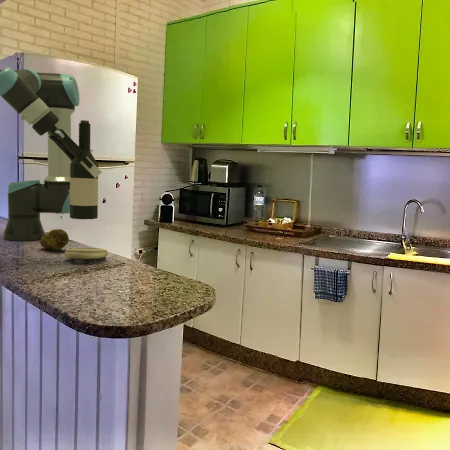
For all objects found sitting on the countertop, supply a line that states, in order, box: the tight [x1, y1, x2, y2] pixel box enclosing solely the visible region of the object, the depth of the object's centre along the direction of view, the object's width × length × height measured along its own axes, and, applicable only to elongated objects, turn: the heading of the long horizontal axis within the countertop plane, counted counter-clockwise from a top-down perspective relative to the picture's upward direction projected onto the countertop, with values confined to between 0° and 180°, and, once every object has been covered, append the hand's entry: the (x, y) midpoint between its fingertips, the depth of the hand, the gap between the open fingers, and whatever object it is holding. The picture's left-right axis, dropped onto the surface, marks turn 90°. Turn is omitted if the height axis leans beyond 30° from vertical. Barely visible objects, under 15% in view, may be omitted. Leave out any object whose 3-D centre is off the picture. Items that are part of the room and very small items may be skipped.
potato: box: [39, 228, 69, 251], centre depth 160 cm, size 8×13×8 cm, turn 31°
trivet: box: [64, 247, 108, 265], centre depth 146 cm, size 13×13×3 cm
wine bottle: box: [69, 119, 99, 220], centre depth 142 cm, size 8×8×30 cm
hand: (95, 174), depth 144 cm, fingers closed on wine bottle, 8 cm apart
